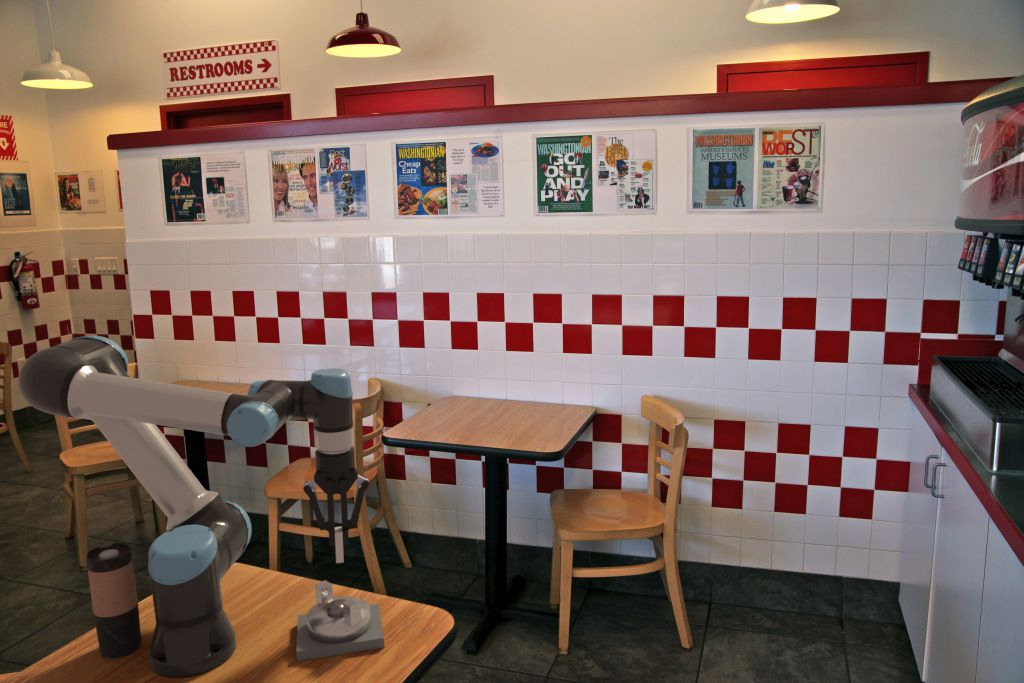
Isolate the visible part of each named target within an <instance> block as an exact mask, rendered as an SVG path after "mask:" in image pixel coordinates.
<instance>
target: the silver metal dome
mask: <svg viewBox="0 0 1024 683" xmlns="http://www.w3.org/2000/svg"><path fill="white" fill-rule="evenodd" d="M314 590H315V591H314V592H315V604H314V605H313V606H312V607H311V608H310V609H309V610H308V612H307V613H306V614H307V627H308V633H309V635H310V636H311V637H312V638H314V639H316V640H318V641H322V642H342V641H346V640H350V639H353V638H355V637H357V636H359V635H361V634H362V633H364V632H365V631H366V630H367V629H368V628H369V626H370V623H371V617H370V606H369V605H370V604H369V602H367V601H366V600H365V599H362V598H360V597H357V596H350V595H349V596H347V595H346V596H345V595H344V596H335V597H334V594H333V583H330V582H329V581H327V580H326V579H325V580H322V581H320V582H318V583H315V584H314Z"/></svg>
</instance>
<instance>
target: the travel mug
mask: <svg viewBox="0 0 1024 683" xmlns="http://www.w3.org/2000/svg"><path fill="white" fill-rule="evenodd" d="M85 557H86V565H87V573H88V574H87V575H88V582H89V590H90V598H91V606H92V612H93V620H94V625H95V630H96V634H97V635H96V636H97V640H98V641H97V642H98V647H99V648H98V649H99V651H100V655H101V656H102V657H103V658H104V659H105V658H106V659H119V658H122V657H126V656H129V655H130V654H133V653H135V652H136V651H137V650H139V649H140V647H141V646H142V634H141V633H142V632H141V622H140V621H141V620H140V611H139V599H138V598H139V597H138V593H137V592H138V591H137V585H136V577H135V570H134V565H133V564H134V563H133V556H132V549H131V545H130V544H128V543H127V542H113V543H112V544H111V545H108V546H105V547H101V546H96V547H94V548H92V549H90V550H89V551H88V552H87V554H86V556H85ZM135 650H136V651H135Z"/></svg>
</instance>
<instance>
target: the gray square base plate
mask: <svg viewBox="0 0 1024 683" xmlns="http://www.w3.org/2000/svg"><path fill="white" fill-rule="evenodd" d="M369 606H370V617H371V623H370V626H369V628H368V629H367V630H366V631H365V632H364V633H362V634H361V635H359V636H357V637H355V638H353V639H350V640H346V641H342V642H322V641H318V640H316V639H314V638H312V637H311V636H310V635H309V633H308V627H307V613H305V614H304V613H303V614H297V623H296V624H297V625H296V626H297V627H296V629H297V630H296V648H295V649H296V662H301V661H306V660H308V661H309V660H315V659H320V658H321V659H322V658H326V657H332V656H339V655H344V654H345V655H346V654H351V653H359V652H364V651H369V650H370V651H371V650H376V649H382V648H385V636H384V631H383V625H382V624H383V623H382V617H381V611H380V605H379V603H373V604H369Z"/></svg>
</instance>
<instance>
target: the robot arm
mask: <svg viewBox="0 0 1024 683" xmlns="http://www.w3.org/2000/svg"><path fill="white" fill-rule="evenodd" d="M129 365H130V364H129V360H128V357H127V354H126V352H125V350H124V349H123V348H122V347H121V346H120V345H119V344H118V343H116V342H115V341H113V340H112V339H110V338H107V337H105V336H100V335H87V336H86V335H85V336H79V337H75V338H74V337H73V338H72V339H70V340H68V341H65V342H62V343H58V344H56V345H54V346H50V347H48V348H44V349H41V350H39V351H37V352H35V353H34V354H32V355H31V356H29V357H28V358H27V359H26V360H25V362H24V363H23V364H22V366H21V367H20V371H19V372H18V378H17V379H18V389H19V391H20V394H21V395H22V397H23V400H25V401H26V402H27V403H28V404H29V405H30V406H31V407H33V408H34V409H36V410H38V411H41V412H43V413H46V414H49V415H55V416H59V417H65V418H73V419H83V420H90V421H91V422H93V423H94V424H95V426H96V427H97V429H98V430H99V431H100V432H101V433H102V435H103V436H104V437H105V439H106V440H107V442H108V443H109V444H110V445H111V447H112V448H113V449H114V451H116V453H117V454H118V455H119V457H120V458H121V459H122V460H123V462H124V463H125V465H126V466H127V467H128V468H129V470H130V471H131V472H132V473H133V475H134V476H135V478H136V479H137V480H138V481H139V483H140V484H141V486H143V488H144V489H145V490H146V491H147V493H148V494H149V496H150V497H151V498H152V500H153V501H154V502H155V503H156V504H157V506H158V507H159V508H160V510H161V512H162V513H163V514H164V515H165V516H166V517H167V523H166V531H165V532H163V533H162V534H161V535H159V536H157V538H156V539H154V541H153V542H152V544H151V545H150V546H149V549H148V562H147V569H148V574H149V579H150V587H151V594H152V601H153V609H154V616H155V627H154V631H153V635H152V639H151V642H150V646H149V651H148V654H149V662H150V663H149V664H150V668H151V670H152V671H154V672H155V673H156V674H158V675H160V676H163V677H169V678H170V677H171V678H185V677H189V676H190V677H191V676H195V675H199V674H202V673H204V672H205V673H206V672H207V671H210V670H213V669H215V668H216V667H219V666H220V665H222V664H223V663H224V662H226V661H227V660H228V659H230V657H231V656H232V655H233V654H234V652H235V650H236V648H237V638H236V632H235V629H234V627H233V626H232V623H231V621H230V620H229V617H228V616H227V614H226V611H225V610H224V608H223V607H224V606H223V599H222V588H221V580H222V578H224V576H225V574H227V572H229V570H230V569H231V567H232V566H233V565H234V563H236V561H237V560H238V559H239V558H241V556H242V555H243V554H244V552H245V551H246V548H247V546H248V545H249V543H250V541H251V537H252V522H251V519H250V517H249V515H248V513H247V511H246V510H245V509H244V508H243V507H242V506H241V505H239V504H237V503H235V502H230V501H229V500H225V499H223V497H222V496H221V495H220V493H219V492H217V491H212V490H211V491H210V490H207V489H205V487H204V486H203V485H202V484H201V482H200V481H199V479H198V478H197V477H196V476H195V474H194V473H193V472H192V470H191V469H190V468H189V467H188V464H186V462H185V461H184V460H183V458H182V457H181V455H180V454H179V453H178V452H177V450H176V449H175V448H174V447H173V446H172V444H171V443H170V442H169V440H168V439H167V438H166V436H165V435H164V433H163V432H162V430H160V428H159V427H158V426H164V427H170V428H175V429H183V430H191V431H195V432H203V433H208V434H209V433H210V434H215V435H220V436H221V435H222V436H228V437H230V438H231V440H232V441H233V442H235V443H236V444H238V445H240V446H242V447H247V448H251V447H256V446H260V445H261V444H264V443H265V442H266V441H268V440H270V439H272V437H273V436H275V433H276V432H277V431H278V430H279V429H281V427H282V426H284V424H286V423H287V422H288V421H289V420H313V421H312V422H313V438H314V440H313V441H314V448H315V449H316V450H315V451H314V452H315V453H314V457H315V472H314V474H313V478H312V479H310V480H309V481H305V482H304V483H303V485H302V486H303V489H302V490H303V492H304V493H305V495H307V497H308V498H309V501H310V504H311V508H312V511H313V514H314V516H315V519H316V522H317V526H318V529H319V530H320V531H327V532H328V542H329V547H335V564H341V563H342V564H343V563H345V560H344V546H348V545H349V542H350V540H349V539H350V538H349V530H350V529H351V528H356V527H357V526H358V524H359V519H360V513H361V510H362V504H363V499H364V496H365V492H366V491H367V489H368V487H369V485H370V481H369V477H367V476H362V475H360V474H359V472H358V470H357V468H356V460H355V456H356V455H355V454H356V453H355V448H354V445H355V434H354V433H355V431H354V418H353V417H354V414H353V412H354V410H353V395H354V394H353V393H354V392H353V390H352V379H351V378H352V377H351V374H350V372H348V371H347V370H345V369H342V368H335V367H334V368H332V367H331V368H322V369H318V370H315V371H314V372H312V374H311V376H310V380H275V379H267V380H256V381H254V382H252V383H251V384H250V386H249V389H248V390H247V395H246V394H245V395H244V394H239V393H238V394H237V393H232V392H226V391H220V390H214V389H207V388H201V387H195V386H194V387H193V386H187V385H182V384H175V383H168V382H163V381H161V382H160V381H155V380H149V379H142V378H135V377H130V375H129V374H128V373H129ZM355 483H356V487H357V488H356V494H355V497H354V503H353V507H352V511H351V512H352V513H351V517H350V518H349V514H348V495H347V493H348V492H349V490H350V489H351V488H352V487H353V485H354V484H355ZM317 486H318V487H319V488H320V489H321V491H322V492H323V493H324V494H326V499H327V500H326V502H327V503H326V504H327V520H328V521H326V519H325V517H324V513H323V511H322V507H321V504H320V501H319V498H318V495H317V492H316V490H317ZM337 494H338V495H339V496H340V512H341V513H340V516H341V526H336V525H335V521H336V520H335V502H334V496H335V495H337Z"/></svg>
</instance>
